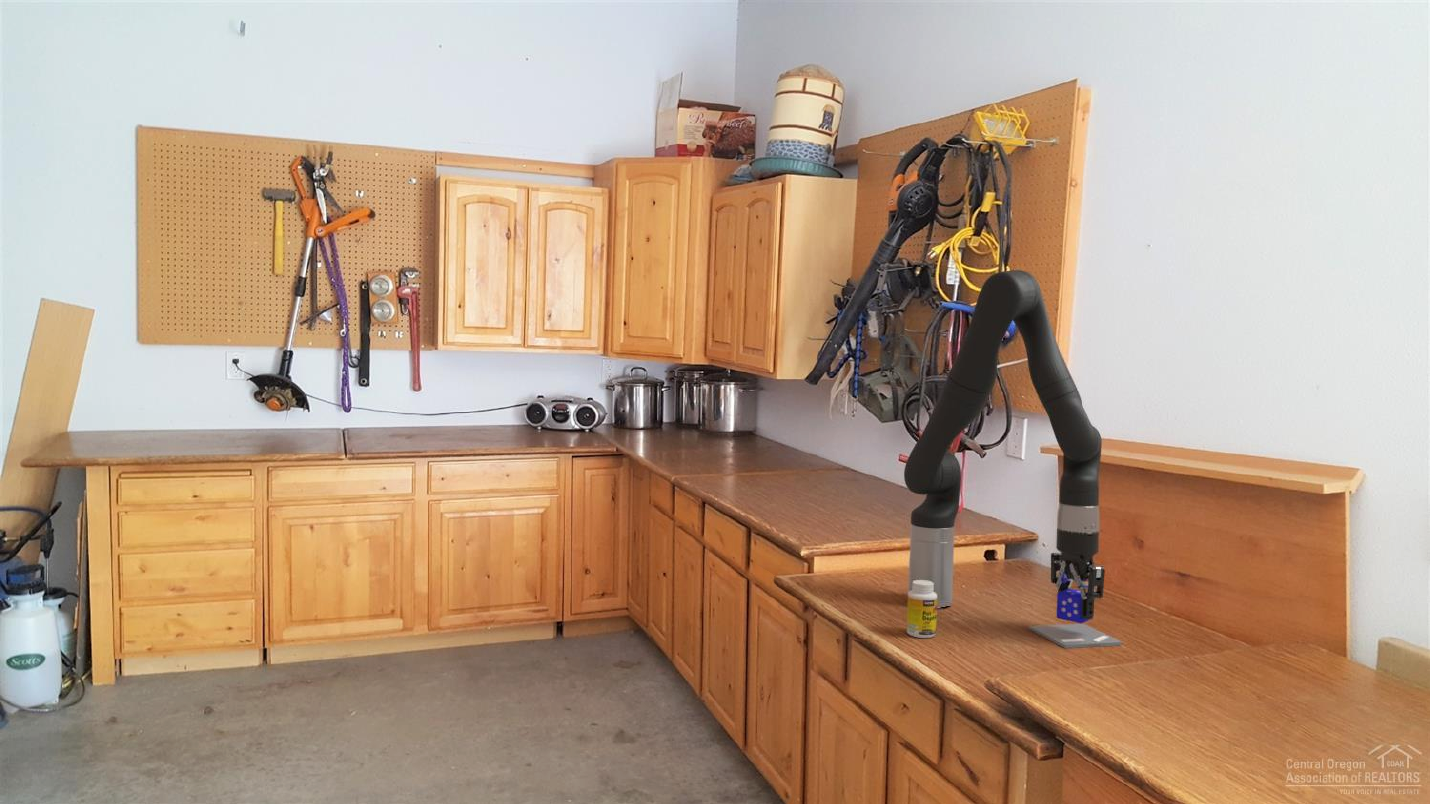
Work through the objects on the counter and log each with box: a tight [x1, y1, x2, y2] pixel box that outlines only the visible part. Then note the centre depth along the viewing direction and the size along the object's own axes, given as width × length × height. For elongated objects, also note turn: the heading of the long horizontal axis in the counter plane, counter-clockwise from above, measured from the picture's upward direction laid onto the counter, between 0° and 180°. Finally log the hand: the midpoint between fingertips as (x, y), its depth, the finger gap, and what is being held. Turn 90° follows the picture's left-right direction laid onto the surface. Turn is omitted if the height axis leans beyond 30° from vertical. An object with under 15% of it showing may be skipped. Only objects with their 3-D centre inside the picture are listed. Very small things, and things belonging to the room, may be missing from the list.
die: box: [1056, 588, 1092, 624], centre depth 174 cm, size 5×5×5 cm
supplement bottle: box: [906, 580, 938, 639], centre depth 174 cm, size 6×6×10 cm
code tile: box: [1028, 623, 1123, 649], centre depth 174 cm, size 12×12×1 cm
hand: (1075, 613), depth 174 cm, fingers closed on die, 6 cm apart
